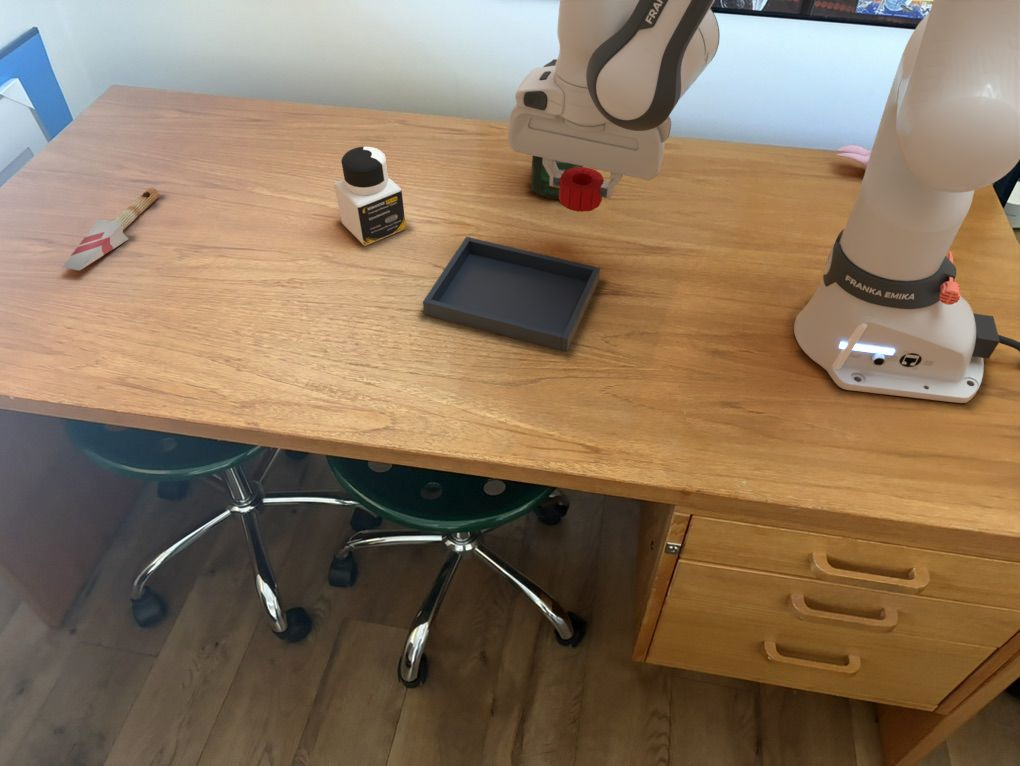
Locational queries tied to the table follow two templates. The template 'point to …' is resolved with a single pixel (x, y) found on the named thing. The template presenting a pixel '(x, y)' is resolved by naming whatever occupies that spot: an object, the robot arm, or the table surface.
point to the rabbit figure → (856, 154)
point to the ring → (580, 189)
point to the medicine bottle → (369, 196)
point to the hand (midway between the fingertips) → (580, 190)
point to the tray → (513, 293)
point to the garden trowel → (108, 233)
